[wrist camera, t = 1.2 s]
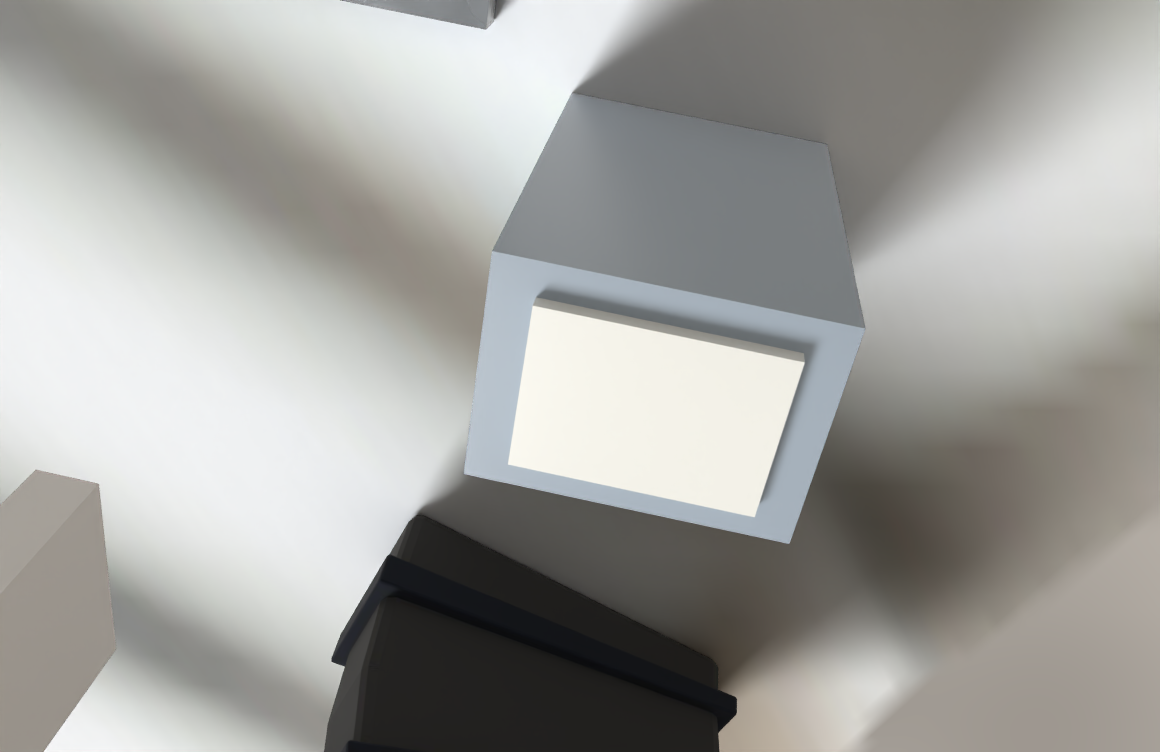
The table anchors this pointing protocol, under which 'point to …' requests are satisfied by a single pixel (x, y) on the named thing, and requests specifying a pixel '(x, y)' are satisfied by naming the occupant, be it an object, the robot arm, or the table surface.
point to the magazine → (509, 663)
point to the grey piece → (442, 10)
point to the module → (667, 320)
